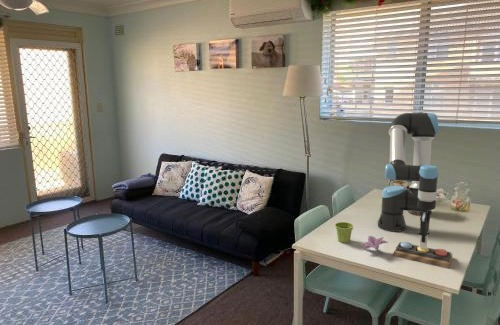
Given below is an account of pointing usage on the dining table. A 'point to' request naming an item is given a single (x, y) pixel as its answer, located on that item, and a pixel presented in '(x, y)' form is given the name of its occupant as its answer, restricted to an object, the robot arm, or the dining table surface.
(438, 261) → the button panel
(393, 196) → the robot arm
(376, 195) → the dining table surface
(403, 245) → the button blue
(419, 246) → the button ochre
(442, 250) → the button red
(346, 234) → the plant pot
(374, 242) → the lily
